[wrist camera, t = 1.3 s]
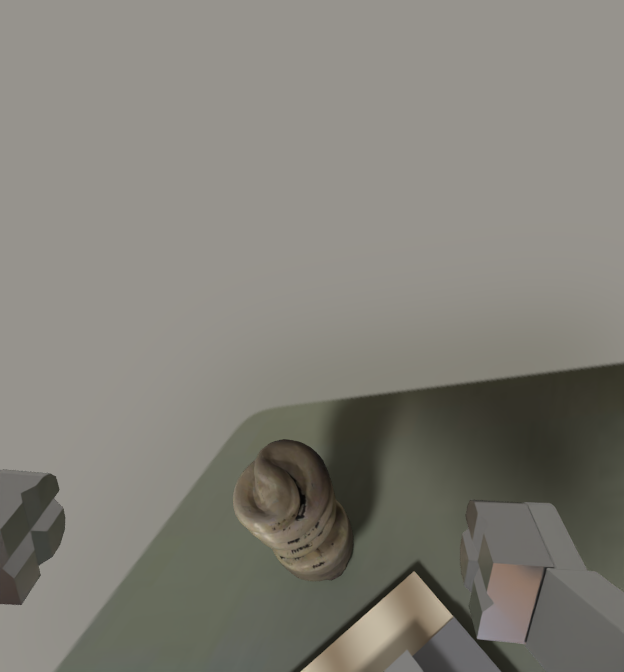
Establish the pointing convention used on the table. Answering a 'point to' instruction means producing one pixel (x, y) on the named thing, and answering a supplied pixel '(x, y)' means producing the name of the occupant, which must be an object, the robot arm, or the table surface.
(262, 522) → the light bulb
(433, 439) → the table surface
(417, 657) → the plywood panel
